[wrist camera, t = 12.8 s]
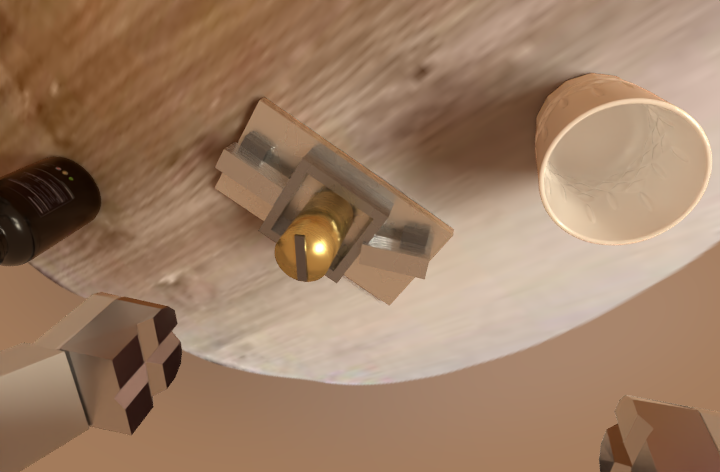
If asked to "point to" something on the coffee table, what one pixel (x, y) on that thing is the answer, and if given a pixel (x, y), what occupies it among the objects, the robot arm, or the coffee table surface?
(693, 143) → the white cup
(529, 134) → the coffee table surface
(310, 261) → the cylinder
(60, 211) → the supplement bottle
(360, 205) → the shaft rig
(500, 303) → the coffee table surface
